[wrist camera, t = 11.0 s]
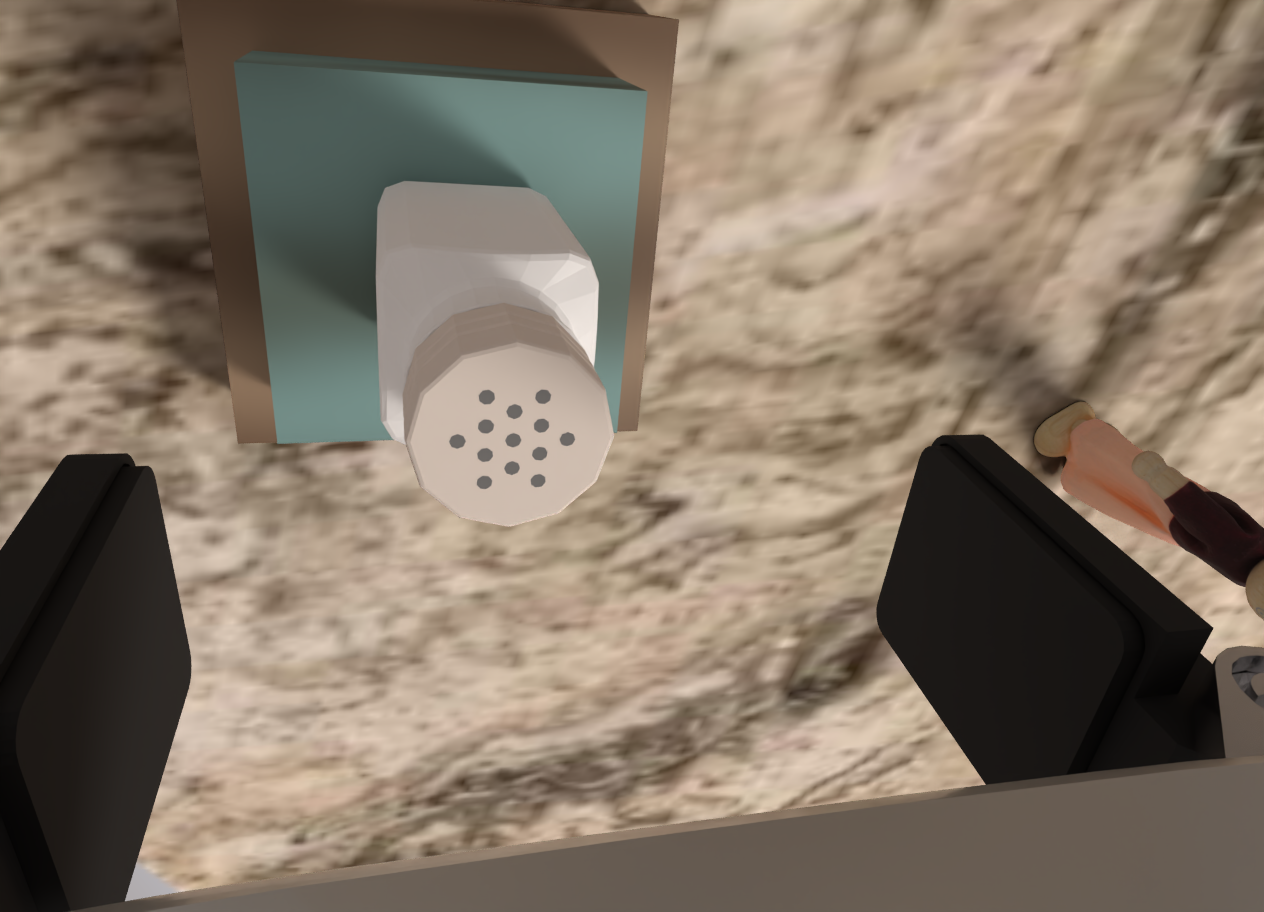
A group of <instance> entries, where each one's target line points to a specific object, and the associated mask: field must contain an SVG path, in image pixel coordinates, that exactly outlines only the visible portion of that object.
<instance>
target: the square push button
mask: <svg viewBox="0 0 1264 912" xmlns="http://www.w3.org/2000/svg"><path fill="white" fill-rule="evenodd" d="M177 6H178V14H179V21H180V28H181V35H182V42H183V50H184V57H185V64H186V71H187V78H188V86H189V93H190V100H191V107H192V115H193V122H194V129H195V136H196V143H197V151H198V158H199V165H200V172H201V179H202V187H203V194H204V201H205V208H206V215H207V223H208V230H209V237H210V244H211V252H212V259H213V266H214V273H215V280H216V288H217V295H218V302H219V309H220V316H221V324H222V331H223V338H224V345H225V352H226V360H227V367H228V374H229V381H230V389H231V396H232V403H233V410H234V417H235V425H236V432H237V439H238V444H239V443H270V442H277V444H280V443H311V442H342V441H373V440H394V439H392V438H391V436H390V435H389V433H388V431H387V430H386V428H385V426H384V425H383V423H382V421H381V415H380V390H379V363H378V333H377V301H376V247H377V208H378V204H379V202H380V199H381V197H382V194H383V192H384V189H385V188H386V187H389V186H392V185H394V184H397V183H400V182H403V181H416V182H434V183H452V184H470V185H488V186H506V187H524V188H530V189H532V190H534V191H536V192H538V193H540V194H542V195H544V196H546V197H547V198H548V200H549V201H550V203H551V204H552V205H553V207H554V208H555V210H556V211H557V212H558V214H559V215H560V217H561V218H562V219H563V221H564V222H565V224H566V225H567V226H568V228H569V229H570V231H571V232H572V233H573V235H574V236H575V238H576V239H577V240H578V242H579V243H580V245H581V246H582V247H583V249H584V250H585V252H586V253H587V254H588V256H589V257H590V259H591V262H592V265H593V268H594V270H595V273H596V276H597V279H598V282H599V290H598V320H597V336H596V351H595V362H594V369H595V372H596V373H597V374H598V376H599V378H600V380H601V382H602V384H603V386H604V388H605V389H606V395H607V400H608V405H609V411H610V416H611V421H612V427H613V432H614V433H617V431H637V428H638V418H639V408H640V398H641V388H642V379H643V369H644V359H645V349H646V339H647V329H648V320H649V310H650V300H651V290H652V280H653V270H654V261H655V251H656V241H657V231H658V221H659V211H660V201H661V192H662V182H663V172H664V162H665V152H666V142H667V133H668V123H669V113H670V103H671V93H672V83H673V74H674V64H675V54H676V44H677V34H678V24H679V20H677V19H672V18H666V17H660V16H654V15H647V14H637V13H626V12H615V11H605V10H594V9H584V8H573V7H562V6H552V5H541V4H531V3H520V2H509V1H499V0H177Z"/></svg>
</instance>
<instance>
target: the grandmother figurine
mask: <svg viewBox="0 0 1264 912" xmlns="http://www.w3.org/2000/svg"><path fill="white" fill-rule="evenodd" d="M1034 444H1035V446H1036V449H1037V450H1038V452H1039V453H1040V454H1042V455H1045V456H1048V457H1059V456H1065V457H1066V459H1067V461H1066V464H1065V466H1064V468H1063V471H1062V474H1061V483H1062V486H1063V489H1064V490H1065V491H1066V492H1067V493H1069V494H1071V495H1073V496H1074V497H1076V498H1077V499H1079V500H1080V501H1082V502H1084V503H1085V504H1087V505H1089V506H1091V507H1093V508H1095V509H1096V510H1098V511H1100V512H1102V513H1104V514H1106V515H1108V516H1110V517H1112V518H1114V519H1116V520H1118V521H1121V522H1123V523H1125V524H1128V525H1130V526H1132V527H1134V528H1137V529H1139V530H1141V531H1143V532H1145V533H1147V534H1150V535H1152V536H1154V537H1157V538H1159V539H1161V540H1164V541H1166V542H1168V543H1171V544H1174V545H1177V546H1180V547H1182V548H1183V549H1185V550H1186V551H1188V552H1190V553H1192V554H1194V555H1196V556H1197V557H1199V558H1200V559H1201V560H1203V561H1204V562H1206V563H1207V564H1208V565H1210V566H1211V567H1212V568H1214V569H1215V570H1217V571H1218V572H1219V573H1221V574H1222V575H1224V576H1225V577H1226V578H1228V579H1229V580H1231V581H1232V582H1234V583H1236V584H1238V585H1240V586H1243V587H1246V596H1247V600H1248V602H1249V604H1250V606H1251V607H1252V609H1253V610H1254V611H1255V613H1256V614H1257V615H1258V616H1259V617H1261V618H1262V619H1263V620H1264V528H1263V527H1261V526H1260V525H1259V524H1258V523H1257V522H1256V521H1255V520H1254V519H1253V518H1252V517H1251V516H1250V515H1249V514H1248V513H1246V512H1245V511H1244V510H1243V509H1241V508H1240V507H1239V505H1238V504H1237V503H1235V502H1233V501H1232V500H1230V499H1228V498H1226V497H1224V496H1222V495H1220V494H1219V493H1217V492H1211V491H1209V490H1208V489H1206V488H1205V487H1203V486H1202V485H1200V484H1198V483H1196V482H1194V481H1192V480H1190V479H1188V478H1186V477H1184V476H1183V475H1182V474H1181V473H1180V472H1178V471H1177V470H1176V469H1174V468H1172V467H1169V466H1167V465H1166V463H1165V461H1164V459H1163V458H1162V457H1161V456H1160V455H1159V454H1157V453H1155V452H1152V451H1145V452H1144V451H1142V450H1141V449H1139V448H1138V447H1136V446H1135V445H1133V444H1132V443H1131V442H1130V441H1128V440H1127V439H1126V438H1125V437H1124V436H1123V435H1122V434H1121V433H1120V432H1119V431H1118V430H1117V429H1116V428H1115V427H1113V426H1111V425H1108V424H1106V423H1105V422H1103V421H1102V420H1100V419H1096V418H1095V413H1094V411H1093V409H1092V407H1091V406H1090V405H1089V404H1088V403H1086V402H1077V403H1074V404H1072V405H1070V406H1069V407H1067V408H1065V409H1064V410H1062V411H1060V412H1059V413H1057V414H1055V415H1053V416H1052V417H1050V418H1048V419H1047V420H1046V421H1044V422H1043V423H1042V424H1041V426H1040V427H1039V428H1038V429H1037V431H1036V434H1035V437H1034Z"/></svg>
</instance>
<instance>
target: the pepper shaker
mask: <svg viewBox="0 0 1264 912" xmlns="http://www.w3.org/2000/svg"><path fill="white" fill-rule="evenodd" d="M598 290H599V282H598V279H597V276H596V273H595V270H594V268H593V265H592V262H591V259H590V257H589V256H588V254H587V253H586V252H585V250H584V249H583V247H582V246H581V245H580V243H579V242H578V240H577V239H576V238H575V236H574V235H573V233H572V232H571V231H570V229H569V228H568V226H567V225H566V224H565V222H564V221H563V219H562V218H561V217H560V215H559V214H558V212H557V211H556V210H555V208H554V207H553V205H552V204H551V203H550V201H549V200H548V198H547V197H546V196H544V195H542V194H540V193H538V192H536V191H534V190H532V189H530V188H524V187H506V186H488V185H470V184H452V183H434V182H416V181H403V182H400V183H397V184H394V185H392V186H389V187H386V188H385V189H384V192H383V194H382V197H381V199H380V202H379V204H378V208H377V247H376V301H377V333H378V363H379V390H380V415H381V421H382V423H383V425H384V426H385V428H386V430H387V431H388V433H389V435H390V436H391V438H392V439H394V440H396V441H398V442H401V443H403V444H405V445H406V446H407V449H408V452H409V455H410V458H411V461H412V464H413V467H414V470H415V473H416V476H417V479H418V482H419V485H420V487H421V488H423V489H424V490H425V491H426V492H428V493H429V494H430V495H431V496H433V497H434V498H435V499H436V500H438V501H439V502H440V503H441V504H443V505H444V506H445V507H447V508H448V509H449V510H450V511H452V512H453V513H454V514H455V515H457V516H458V517H459V518H464V519H470V520H475V521H481V522H486V523H492V524H497V525H503V526H509V527H510V526H513V525H517V524H521V523H525V522H528V521H532V520H536V519H539V518H543V517H547V516H551V515H554V514H558V513H559V512H561V511H562V510H563V509H564V508H565V507H567V506H568V505H569V504H570V503H571V502H572V501H574V500H575V499H576V498H577V497H578V496H579V495H581V494H582V493H583V492H584V491H585V490H587V489H588V488H589V487H590V486H591V485H592V484H594V483H595V482H596V481H597V478H598V476H599V473H600V471H601V468H602V466H603V463H604V461H605V458H606V456H607V453H608V450H609V448H610V445H611V443H612V440H613V438H614V432H613V427H612V421H611V416H610V411H609V405H608V400H607V395H606V389H605V388H604V386H603V384H602V382H601V380H600V378H599V376H598V374H597V373H596V372H595V369H594V362H595V351H596V336H597V320H598Z"/></svg>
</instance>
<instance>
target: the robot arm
mask: <svg viewBox="0 0 1264 912" xmlns="http://www.w3.org/2000/svg"><path fill="white" fill-rule="evenodd" d="M877 622H878V625H879V628H880V630H881V632H882V634H883V635H884V637H885V638H886V640H887V641H888V643H889V644H890V646H891V647H892V649H893V650H894V651H895V653H896V654H897V656H898V657H899V659H900V660H901V662H902V663H903V665H904V666H905V667H906V669H907V670H908V672H909V673H910V675H911V676H912V678H913V679H914V681H915V682H916V683H917V685H918V686H919V688H920V689H921V691H922V692H923V694H924V695H925V697H926V698H927V699H928V701H929V702H930V704H931V705H932V707H933V708H934V710H935V711H936V713H937V714H938V715H939V717H940V718H941V720H942V721H943V723H944V724H945V726H946V727H947V729H948V730H949V732H950V733H951V734H952V736H953V737H954V739H955V740H956V742H957V743H958V745H959V746H960V748H961V749H962V750H963V752H964V753H965V755H966V756H967V758H968V759H969V761H970V762H971V764H972V765H973V766H974V768H975V769H976V771H977V772H978V774H979V775H980V777H981V778H982V780H983V781H984V782H985V784H986V785H980V786H972V787H964V788H956V789H948V790H939V791H931V792H923V793H915V794H906V795H898V796H890V797H882V798H875V799H867V800H859V801H851V802H843V803H835V804H827V805H819V806H811V807H804V808H796V809H788V810H780V811H772V812H764V813H756V814H749V815H741V816H733V817H725V818H718V819H710V820H702V821H694V822H686V823H679V824H671V825H663V826H655V827H648V828H640V829H632V830H624V831H617V832H609V833H602V834H594V835H587V836H579V837H572V838H564V839H557V840H549V841H542V842H534V843H527V844H519V845H512V846H504V847H497V848H489V849H482V850H474V851H467V852H459V853H452V854H444V855H437V856H430V857H422V858H415V859H407V860H400V861H392V862H385V863H377V864H370V865H362V866H355V867H347V868H341V869H334V870H327V871H320V872H313V873H306V874H300V875H293V876H286V877H279V878H272V879H265V880H258V881H252V882H245V883H238V884H231V885H224V886H218V887H211V888H205V889H198V890H192V891H185V892H179V893H172V894H166V895H159V896H153V897H148V898H143V899H137V900H131V901H125V898H126V895H127V892H128V888H129V885H130V881H131V878H132V875H133V872H134V868H135V865H136V862H137V858H138V855H139V852H140V848H141V845H142V842H143V839H144V835H145V832H146V829H147V825H148V822H149V819H150V815H151V812H152V809H153V805H154V802H155V799H156V795H157V792H158V789H159V785H160V782H161V779H162V775H163V772H164V769H165V765H166V762H167V759H168V756H169V752H170V749H171V746H172V742H173V739H174V736H175V732H176V729H177V726H178V722H179V719H180V716H181V712H182V709H183V706H184V702H185V699H186V696H187V692H188V689H189V685H190V679H191V655H190V649H189V644H188V639H187V634H186V629H185V624H184V619H183V614H182V609H181V604H180V599H179V594H178V589H177V584H176V579H175V574H174V569H173V564H172V559H171V554H170V549H169V544H168V539H167V534H166V529H165V524H164V519H163V514H162V509H161V504H160V499H159V494H158V489H157V484H156V479H155V476H154V473H153V471H152V469H151V468H150V467H149V466H135V463H134V461H133V459H132V457H131V456H130V455H128V454H127V453H124V454H78V455H67V456H66V457H65V458H63V459H62V461H61V462H60V464H59V465H58V467H57V468H56V470H55V471H54V472H53V474H52V475H51V477H50V478H49V480H48V481H47V483H46V484H45V486H44V487H43V489H42V490H41V492H40V493H39V494H38V496H37V497H36V499H35V500H34V502H33V503H32V505H31V506H30V508H29V509H28V511H27V512H26V513H25V515H24V516H23V518H22V519H21V521H20V522H19V524H18V525H17V527H16V528H15V530H14V531H13V532H12V534H11V535H10V537H9V538H8V540H7V541H6V543H5V544H4V546H3V547H2V549H1V550H0V912H1264V648H1262V647H1250V646H1238V647H1232V648H1227V649H1225V650H1224V651H1223V652H1221V653H1220V654H1219V655H1217V657H1216V659H1215V661H1214V662H1213V664H1212V663H1211V662H1209V661H1208V660H1207V659H1206V658H1205V657H1204V656H1203V655H1202V654H1200V652H1201V650H1202V649H1203V647H1204V645H1205V643H1206V641H1207V639H1208V637H1209V635H1210V634H1211V632H1212V630H1213V627H1212V626H1210V625H1209V624H1208V623H1207V622H1206V621H1204V620H1203V619H1202V618H1201V617H1200V616H1199V615H1197V614H1196V613H1195V612H1194V611H1193V610H1191V609H1190V608H1189V607H1188V606H1187V605H1186V604H1184V603H1183V602H1182V601H1181V600H1180V599H1178V598H1177V597H1176V596H1175V595H1174V594H1173V593H1171V592H1170V591H1169V590H1168V589H1167V588H1166V587H1164V586H1163V585H1162V584H1161V583H1160V582H1158V581H1157V580H1156V579H1155V578H1154V577H1153V576H1151V575H1150V574H1149V573H1148V572H1147V571H1145V570H1144V569H1143V568H1142V567H1141V566H1140V565H1138V564H1137V563H1136V562H1135V561H1134V560H1132V559H1131V558H1130V557H1129V556H1128V555H1127V554H1125V553H1124V552H1123V551H1122V550H1121V549H1120V548H1118V547H1117V546H1116V545H1115V544H1114V543H1112V542H1111V541H1110V540H1109V539H1108V538H1107V537H1105V536H1104V535H1103V534H1102V533H1101V532H1099V531H1098V530H1097V529H1096V528H1095V527H1094V526H1092V525H1091V524H1090V523H1089V522H1088V521H1086V520H1085V519H1084V518H1083V517H1082V516H1081V515H1079V514H1078V513H1077V512H1076V511H1075V510H1073V509H1072V508H1071V507H1070V506H1069V505H1068V504H1066V503H1065V502H1064V501H1063V500H1062V499H1061V498H1059V497H1058V496H1057V495H1056V494H1055V493H1053V492H1052V491H1051V490H1050V489H1049V488H1048V487H1046V486H1045V485H1044V484H1043V483H1042V482H1040V481H1039V480H1038V479H1037V478H1036V477H1035V476H1033V475H1032V474H1031V473H1030V472H1029V471H1027V470H1026V469H1025V468H1024V467H1023V466H1022V465H1020V464H1019V463H1018V462H1017V461H1016V460H1015V459H1013V458H1012V457H1011V456H1010V455H1009V454H1007V453H1006V452H1005V451H1004V450H1003V449H1002V448H1000V447H999V446H998V445H997V444H996V443H994V442H993V441H992V440H991V439H990V438H988V437H986V436H985V435H942V436H940V437H938V438H937V439H936V440H935V441H934V442H933V444H932V446H929V447H927V448H925V449H924V451H923V452H922V454H921V456H920V459H919V462H918V465H917V469H916V472H915V476H914V479H913V483H912V486H911V490H910V493H909V496H908V500H907V503H906V507H905V510H904V514H903V517H902V521H901V524H900V527H899V531H898V534H897V538H896V541H895V545H894V548H893V552H892V555H891V558H890V562H889V565H888V569H887V572H886V576H885V579H884V583H883V586H882V589H881V593H880V596H879V600H878V603H877Z"/></svg>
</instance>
